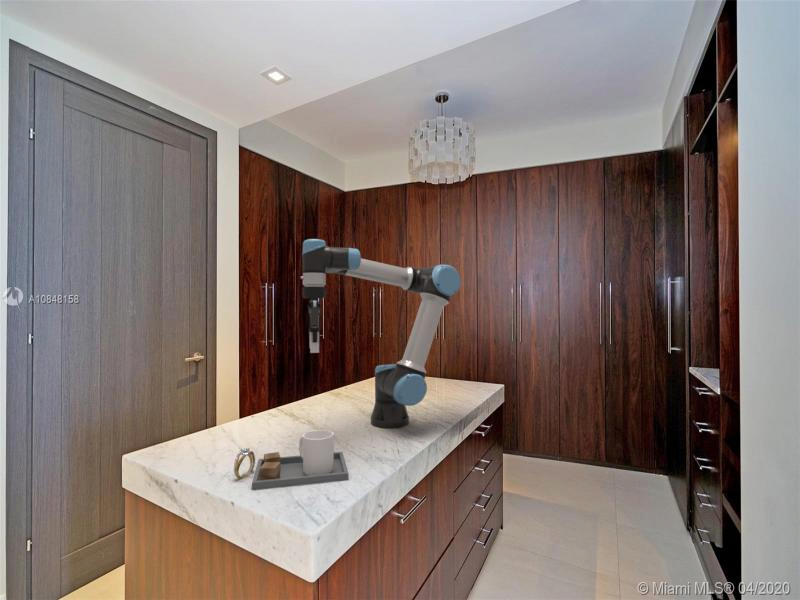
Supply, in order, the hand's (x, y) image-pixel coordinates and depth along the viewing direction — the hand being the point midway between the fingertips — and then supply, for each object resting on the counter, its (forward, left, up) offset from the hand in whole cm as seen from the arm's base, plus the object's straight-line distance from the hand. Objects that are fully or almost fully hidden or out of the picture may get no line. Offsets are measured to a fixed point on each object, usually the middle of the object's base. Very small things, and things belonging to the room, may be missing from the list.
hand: (314, 350), depth 133 cm
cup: (+1, +21, -31) cm, 38 cm away
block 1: (+12, +19, -31) cm, 38 cm away
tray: (+4, +22, -32) cm, 39 cm away
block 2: (+12, +26, -31) cm, 42 cm away
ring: (+19, +21, -32) cm, 43 cm away
